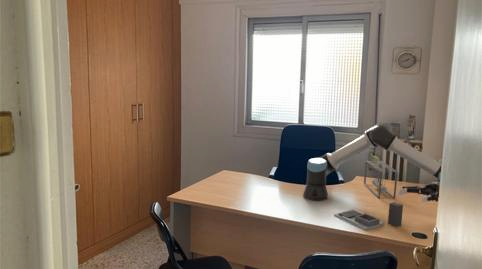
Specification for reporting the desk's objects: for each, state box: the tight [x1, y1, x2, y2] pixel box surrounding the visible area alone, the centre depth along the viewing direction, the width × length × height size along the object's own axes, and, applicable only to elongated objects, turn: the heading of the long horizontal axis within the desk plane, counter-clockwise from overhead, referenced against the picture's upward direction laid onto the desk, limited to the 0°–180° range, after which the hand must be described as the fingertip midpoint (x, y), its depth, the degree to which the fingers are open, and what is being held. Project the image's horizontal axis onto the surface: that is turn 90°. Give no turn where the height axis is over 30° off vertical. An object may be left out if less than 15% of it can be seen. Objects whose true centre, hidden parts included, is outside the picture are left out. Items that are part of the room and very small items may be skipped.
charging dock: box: [333, 209, 385, 231], centre depth 193 cm, size 21×14×4 cm, turn 32°
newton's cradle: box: [363, 160, 398, 199], centre depth 241 cm, size 30×10×18 cm, turn 179°
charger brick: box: [387, 201, 404, 228], centre depth 188 cm, size 5×4×11 cm
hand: (410, 196), depth 192 cm, fingers open, 13 cm apart
